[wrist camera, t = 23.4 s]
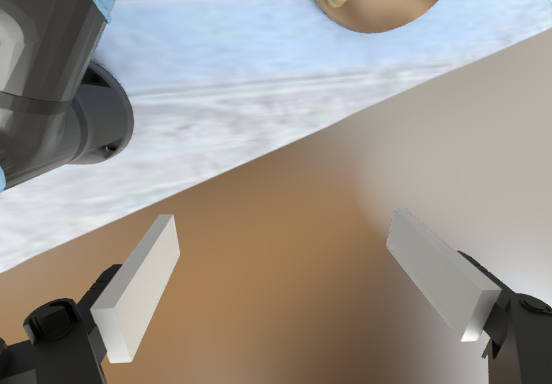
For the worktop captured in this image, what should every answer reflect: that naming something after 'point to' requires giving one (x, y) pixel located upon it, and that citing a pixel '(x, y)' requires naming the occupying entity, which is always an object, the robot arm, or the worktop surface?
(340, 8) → the disc
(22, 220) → the worktop surface
